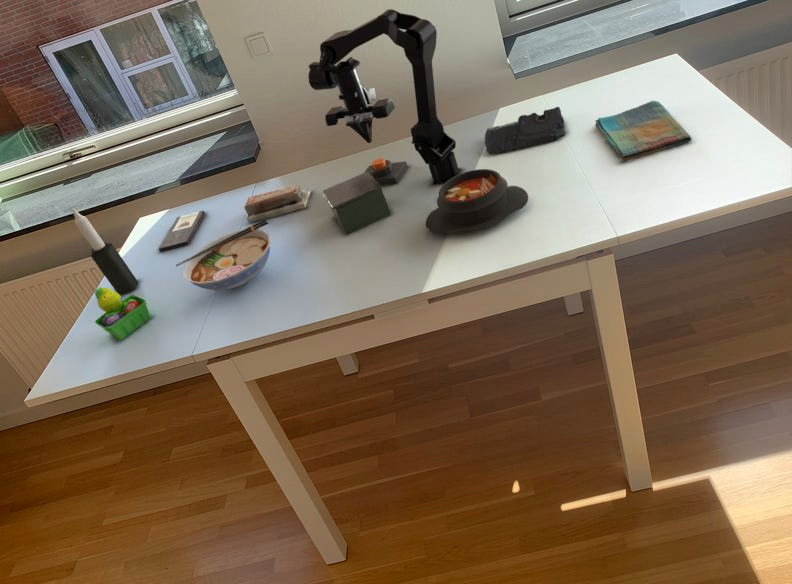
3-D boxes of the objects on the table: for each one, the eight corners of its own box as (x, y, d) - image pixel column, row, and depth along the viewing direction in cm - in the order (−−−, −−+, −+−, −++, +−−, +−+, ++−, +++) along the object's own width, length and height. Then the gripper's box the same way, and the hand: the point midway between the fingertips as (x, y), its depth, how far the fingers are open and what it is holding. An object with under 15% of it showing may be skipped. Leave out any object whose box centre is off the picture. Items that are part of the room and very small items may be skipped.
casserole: (521, 183, 173) (514, 152, 168) (537, 219, 158) (529, 186, 153) (424, 213, 175) (414, 183, 170) (431, 251, 161) (420, 220, 155)
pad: (408, 167, 199) (404, 155, 196) (396, 183, 193) (392, 171, 190) (371, 171, 203) (367, 160, 201) (359, 187, 197) (354, 176, 195)
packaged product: (240, 209, 197) (247, 192, 204) (247, 224, 200) (255, 207, 207) (299, 193, 193) (305, 177, 201) (306, 208, 196) (311, 192, 204)
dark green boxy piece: (346, 234, 178) (335, 209, 174) (335, 217, 187) (324, 193, 183) (391, 214, 180) (381, 189, 175) (377, 198, 189) (368, 174, 184)
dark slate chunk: (486, 133, 201) (482, 118, 198) (562, 115, 196) (560, 98, 193) (485, 157, 189) (481, 141, 186) (567, 138, 184) (564, 121, 181)
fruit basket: (119, 345, 168) (91, 308, 161) (103, 335, 174) (75, 300, 167) (157, 316, 174) (132, 279, 167) (141, 308, 179) (116, 272, 172)
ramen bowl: (200, 322, 166) (182, 295, 161) (188, 281, 183) (172, 255, 178) (296, 275, 170) (282, 247, 165) (276, 240, 187) (262, 213, 182)
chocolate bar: (158, 248, 201) (177, 217, 215) (160, 251, 202) (178, 220, 216) (186, 241, 200) (203, 210, 213) (188, 244, 200) (205, 213, 214)
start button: (388, 163, 197) (386, 157, 195) (383, 169, 194) (381, 164, 193) (376, 164, 198) (374, 159, 197) (372, 171, 196) (369, 165, 195)
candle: (122, 285, 192) (66, 206, 177) (139, 280, 192) (84, 200, 176) (117, 296, 188) (59, 216, 173) (134, 290, 188) (78, 210, 172)
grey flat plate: (333, 209, 173) (332, 207, 173) (322, 193, 182) (321, 191, 182) (381, 188, 175) (380, 186, 175) (368, 174, 184) (367, 171, 184)
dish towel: (659, 107, 183) (658, 97, 182) (693, 141, 165) (692, 131, 164) (595, 127, 185) (593, 118, 183) (621, 163, 167) (620, 153, 165)
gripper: (392, 67, 183) (410, 124, 192) (331, 78, 190) (352, 132, 200) (376, 85, 175) (396, 143, 185) (314, 96, 183) (336, 151, 193)
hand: (370, 142), depth 191 cm, fingers closed
